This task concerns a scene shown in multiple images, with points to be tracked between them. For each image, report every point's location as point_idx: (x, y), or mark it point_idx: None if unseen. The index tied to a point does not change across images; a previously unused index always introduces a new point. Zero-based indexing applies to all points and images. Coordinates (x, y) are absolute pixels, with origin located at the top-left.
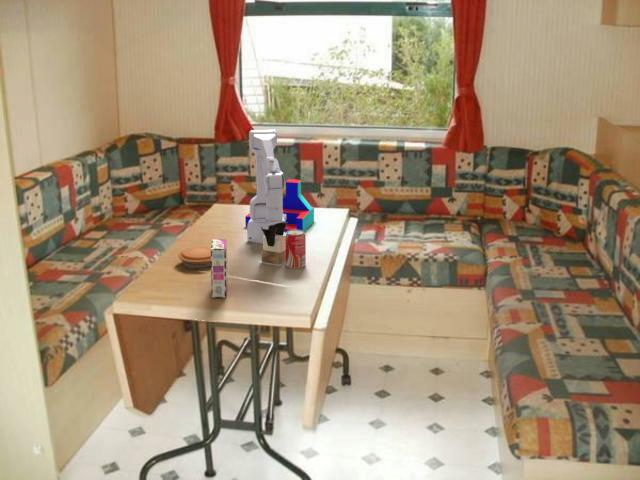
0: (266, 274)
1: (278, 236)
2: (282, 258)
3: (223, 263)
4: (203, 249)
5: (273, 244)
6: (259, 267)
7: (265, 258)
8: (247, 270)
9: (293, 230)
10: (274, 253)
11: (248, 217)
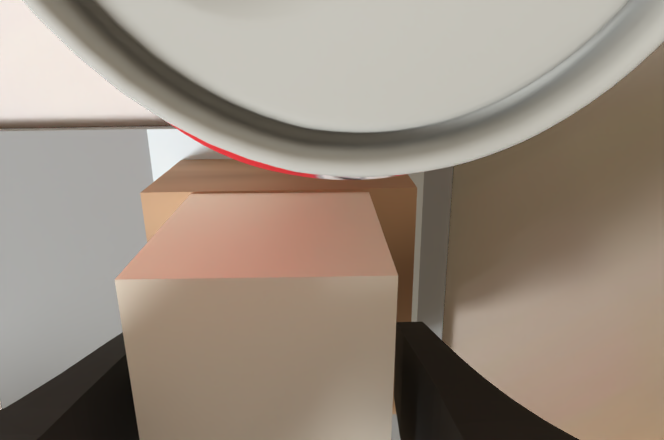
0: (650, 152)
1: (230, 395)
2: None
3: None
4: None
5: (429, 331)
6: (485, 300)
7: None
8: (595, 347)
9: (85, 26)
10: (412, 251)
11: None
